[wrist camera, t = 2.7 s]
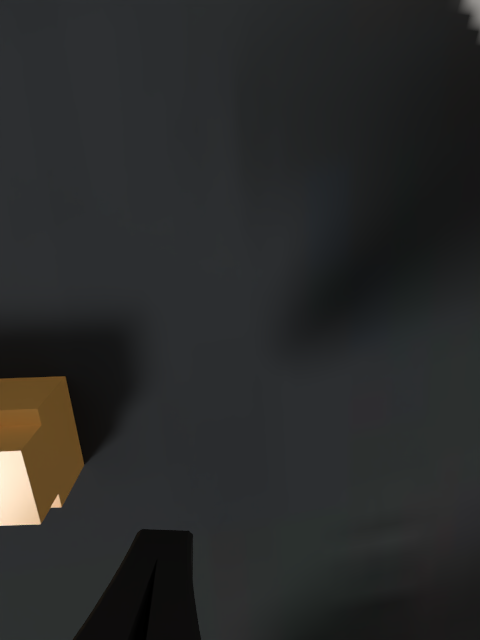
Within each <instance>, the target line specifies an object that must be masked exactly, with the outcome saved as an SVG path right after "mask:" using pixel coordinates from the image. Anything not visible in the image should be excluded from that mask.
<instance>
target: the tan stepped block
mask: <svg viewBox="0 0 480 640" xmlns="http://www.w3.org/2000/svg"><path fill="white" fill-rule="evenodd" d="M83 466H84V462H83V457H82V452H81V447H80V443H79V438H78V433H77V428H76V424H75V419H74V414H73V409H72V405H71V400H70V395H69V390H68V386H67V381H66V376H59V377H32V378H5V379H0V526H4V525H35V524H41V523H42V522H43V520H44V518H45V516H46V515H47V513H48V511H49V509H50V508H53V507H62V506H63V504H64V502H65V500H66V498H67V496H68V494H69V493H70V491H71V489H72V487H73V485H74V483H75V481H76V479H77V478H78V476H79V474H80V472H81V470H82V468H83Z"/></svg>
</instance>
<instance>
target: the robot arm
mask: <svg viewBox="0 0 480 640" xmlns="http://www.w3.org/2000/svg"><path fill="white" fill-rule="evenodd" d="M192 577H193V534H192V533H190V532H189V531H176V530H148V529H142V530H140V531H139V532H138V533H137V535H136V537H135V539H134V541H133V543H132V545H131V547H130V549H129V551H128V552H127V554H126V556H125V558H124V560H123V562H122V563H121V565H120V567H119V569H118V570H117V572H116V574H115V575H114V577H113V579H112V580H111V582H110V584H109V585H108V587H107V588H106V590H105V592H104V593H103V595H102V596H101V598H100V600H99V601H98V603H97V604H96V606H95V608H94V609H93V611H92V612H91V614H90V615H89V617H88V618H87V620H86V621H85V623H84V624H83V626H82V627H81V628H80V630H79V631H78V633H77V634H76V636H75V637H74V638H73V640H201V637H200V631H199V625H198V619H197V612H196V605H195V599H194V590H193V580H192Z"/></svg>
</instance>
